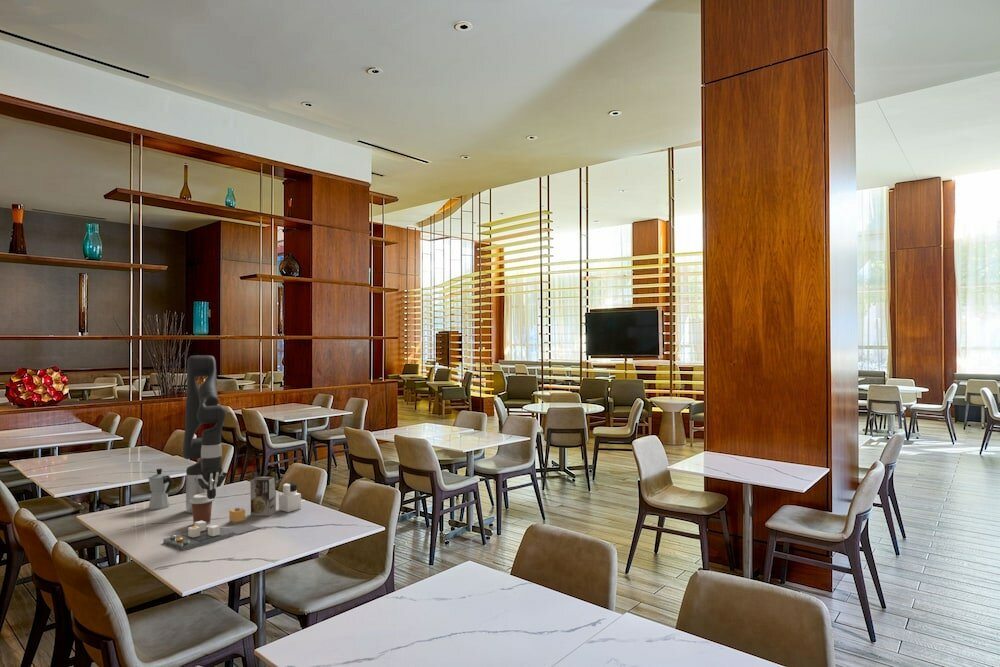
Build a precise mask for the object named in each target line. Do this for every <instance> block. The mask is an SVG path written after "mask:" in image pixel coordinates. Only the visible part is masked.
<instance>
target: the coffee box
mask: <svg viewBox="0 0 1000 667" xmlns="http://www.w3.org/2000/svg"><path fill="white" fill-rule="evenodd" d="M276 478H277V477H276V476H255V477H254V478H252V479H250V517H251V516H255V517H257V516H265V517H267V516H272V515H273V514H276V512H277V509H276V508H277V506H276V504H277V501H276V500H277V498H276V497H277V496H276V495H277V493H276V492H277V491H276V490H277V489H276V488H277V487H276V486H277V485H276V481H277V480H276Z"/></svg>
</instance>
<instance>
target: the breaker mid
mask: <svg viewBox="0 0 1000 667" xmlns="http://www.w3.org/2000/svg"><path fill="white" fill-rule="evenodd" d="M187 532H188V536H190V537H192V538H194V537H197V536H200V527H197V526H194V525H193V526H190V527H187Z"/></svg>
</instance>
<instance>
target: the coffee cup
mask: <svg viewBox="0 0 1000 667" xmlns="http://www.w3.org/2000/svg"><path fill="white" fill-rule="evenodd" d="M213 501H215V498H214V499H208V497H207V493H204V494H197V495H194V496H193V499H192V500H190V503H191V504H192V512H193V513H192V522H193V526H195V522H197V521H201V520H202V521H205V522H206V526H208V525H210V524H211V521H212V520H211V518H212V508H213Z"/></svg>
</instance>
